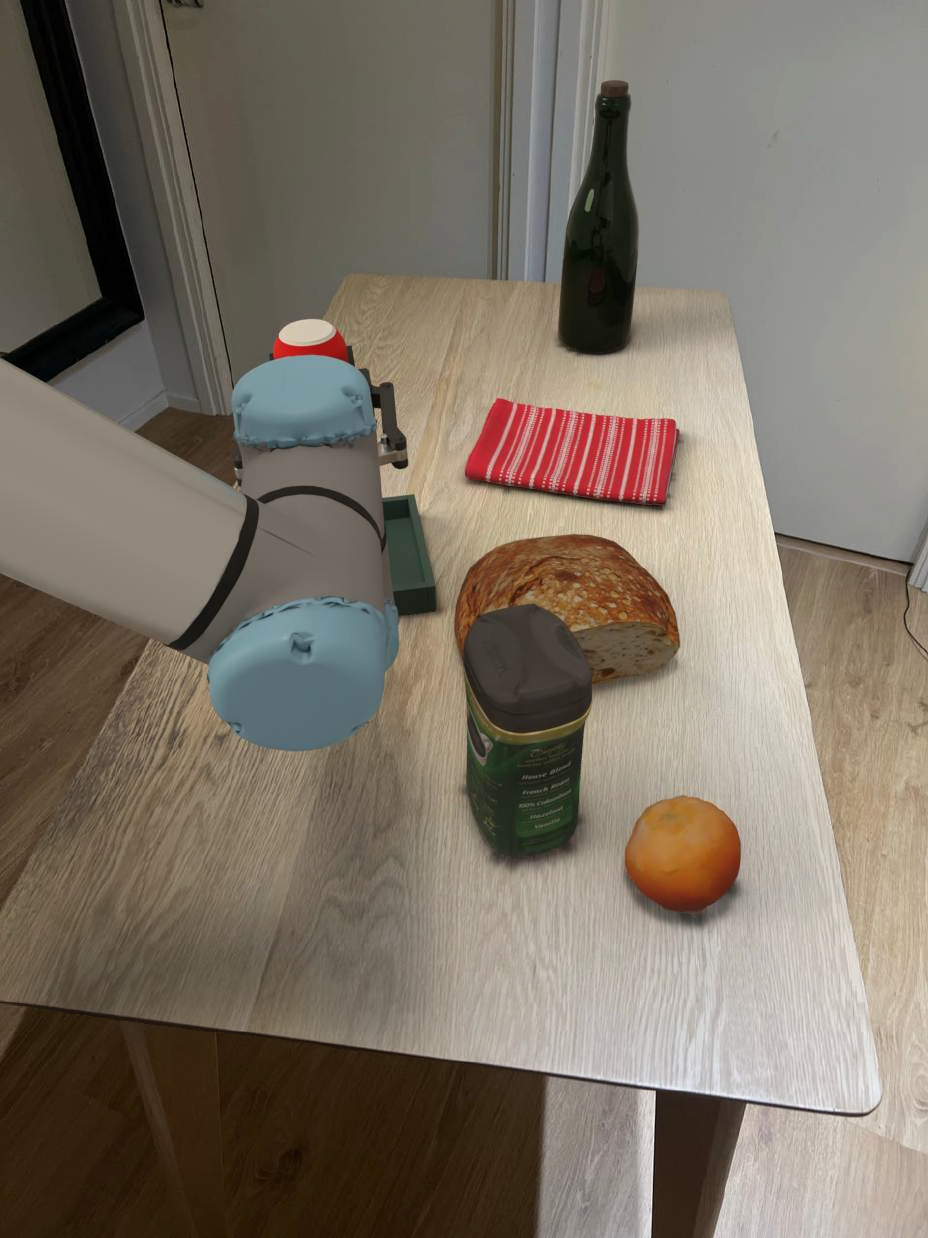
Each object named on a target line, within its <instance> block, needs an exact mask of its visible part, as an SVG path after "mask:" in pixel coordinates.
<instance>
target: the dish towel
mask: <svg viewBox="0 0 928 1238" xmlns="http://www.w3.org/2000/svg"><path fill="white" fill-rule="evenodd" d="M677 426H678V425H677V422H676V419H675V418H674V419H673V418H666V417H663V418H652V417H651V418H637V417H624V416H618V415H607V414H597V413H588V412H584V411H581V412H580V411H577V410H571V409H570V410H569V409H568V410H567V409H561V408H558V407H557V408H556V407H540V406H537V405H533V404H527V403H519V402H517V401H510V400H509V399H505V398H500V397H497V398H496V399H495V401H494V402H493V403H492V404H491V406H490V409H489V411H488V413H487V416H486V417H485V420H484V423H483V426H482V429H481V433H480V434H479V436H478V438H477V440H476V442H475V444H474V446H473V448H472V450H471V452H470V454H469V455H468V457H467V460H466V464H465V467H464V476H465V478H467V479H468V480H471V481H482V482H487V483H493V484H498V485H504V486H508V487H517V488H525V489H530V490H537V491H541V492H549V493H555V494H563V495H570V496H575V497H581V498H588V499H589V498H590V499H595V500H601V501H602V500H603V501H612V502H618V503H629V504H638V505H646V506H648V505H649V506H651V505H652V506H664V505H665V504H666V503H667V496H668V493H669V486H670V482H671V477H672V472H673V468H674V464H675V458H676V454H677V450H678V449H677V448H678V443H679V436H680V429H679V428H677Z"/></svg>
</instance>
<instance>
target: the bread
mask: <svg viewBox="0 0 928 1238" xmlns="http://www.w3.org/2000/svg"><path fill="white" fill-rule="evenodd" d="M670 599H671V598H670V596H669V594H668V593H667V592H666V591H665V590H664V588H663V587H662V586H661V585H660V583H659V582H658V581H657V579H656V578H655V577H654V576H653V575H652V574H651V573H650V572H649V571H648V570H647V569H646V568H645V567H643V566H642V565H641V563H640V562H638V561H637V559H636V558H635V557H634V556H633V555H632V554H631V553H630V551H628V550H627V549H626V548H624V547H623V546H621V545H620V544H619V543H618V542H616V541H614V540H611V539H608V538H605V537H602V536H597V535H592V534H582V533H581V534H579V533H570V534H560V535H549V536H540V537H539V536H538V537H530V538H523V539H516V540H512V541H509V542H506V543H502V544H500V545H497V546H496V547H494V548H493V549H491V550H490V551H488V552H486V553H485V554H484V555H482V556H481V557H480V558H479V559H478V560H477V561H475V562H474V563H473V564H472V565H471V566H470V567H469V568H468V570H467V572H466V575H465V577H464V579H463V582H462V584H461V587H460V590H459V593H458V597H457V600H456V604H455V611H454V623H453V624H454V626H453V627H454V628H453V631H454V636H455V641H456V646H457V649H458V652H459V654H460V657H461V661H463V654H464V644H465V638H466V635H467V633H468V631H469V629H470V627H471V626H472V625H473V624H474V622H475V621H476V620H478V619H479V618H480V616H481V615H482V614H485V613H488V612H491V611H495V610H498V609H502V608H507V607H512V606H518V605H524V604H531V603H534V604H536V605H537V606H539V607H542V608H544V609H546V610H548V611H550V612H552V613H553V614H555V615H556V616H558V617H559V618H560V619H561V620H562V621H564V623H565V624H566V625H567V626H568V628H569V630H570V631H571V632H572V634H573V635H574V637H575V638H576V640H577V641H578V643H579V644H580V646H581V648H582V650H583V652H584V654H585V656H586V658H587V660H588V662H589V664H590V666H591V669H592V685H595V684H599V683H603V682H607V681H611V680H612V681H613V680H615V679H620V678H627V677H634V676H640V675H644V674H645V675H646V674H649V673H652V672H654V671H656V670H658V669H661V668H662V667H665V666H666V665H667V664H669V663H670V662H671V661H672V660H673V659H674V658H675V656H676V654H678V652H679V649H680V648H681V637H680V632H679V626H678V620H677V612H676V611H675V609H674V606H673V605H672V602H671V600H670Z"/></svg>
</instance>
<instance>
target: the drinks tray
mask: <svg viewBox="0 0 928 1238" xmlns="http://www.w3.org/2000/svg"><path fill="white" fill-rule="evenodd" d="M382 503H383V516H384V523H385V527H386V536H387V543H388V552H389V562H390V572H391V581H392V589H393V596H394V603H395V606H396V607H397V611H398V617H401V616H408V615H409V616H410V615H415V614H422V613H431V612H437V597H436V596H437V594H436V593H437V592H436V584H435V579H434V575H433V570H432V567H431V562H430V557H429V553H428V548H427V543H426V540H425V539H426V538H425V535H424V531H423V526H422V522H421V517H420V513H419V512H420V511H419V508H418V504H417V500H416V495H415V494H414V493H411V494H403V495H394V496H386V497H382Z"/></svg>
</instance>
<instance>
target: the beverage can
mask: <svg viewBox="0 0 928 1238" xmlns="http://www.w3.org/2000/svg"><path fill="white" fill-rule="evenodd" d="M346 346H347V344H346V340H345V338H344V337H343V335H342V334H341V333H340V331H339V330H338V329H337V328H336V326H335V325H334V324H333V323H331V322H329V321H327V320H323V319H317V318H307V319H300V320H296V321H293V322H290V323H288V324H287V325H285V326H284V327H283V328H281V329H280V330H279V332H278V334H277V337H276V339H275V342H274V345H273V351H272V353H273V356H274V360H276V359H279V358H284V357H289V356H303V355H319V356H327V357H332V358H336V359H339V360H342V361H345V362H347V363H348V355H347V347H346Z"/></svg>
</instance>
